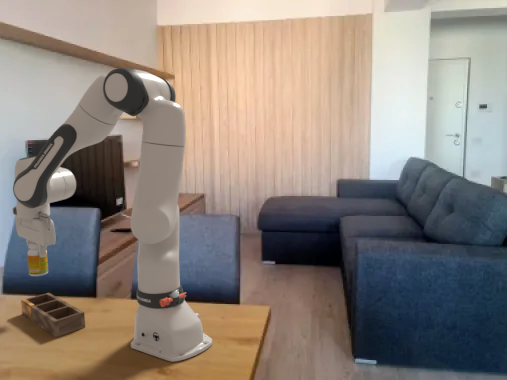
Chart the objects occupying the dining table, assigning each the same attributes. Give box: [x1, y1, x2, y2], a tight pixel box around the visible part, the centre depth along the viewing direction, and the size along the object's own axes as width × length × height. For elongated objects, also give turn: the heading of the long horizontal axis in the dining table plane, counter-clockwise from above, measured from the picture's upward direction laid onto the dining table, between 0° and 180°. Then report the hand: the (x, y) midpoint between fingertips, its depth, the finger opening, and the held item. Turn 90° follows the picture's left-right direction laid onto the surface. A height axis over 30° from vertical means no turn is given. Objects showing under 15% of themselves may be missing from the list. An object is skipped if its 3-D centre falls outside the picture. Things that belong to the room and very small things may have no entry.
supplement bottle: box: [27, 242, 49, 277], centre depth 140 cm, size 5×5×10 cm
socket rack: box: [20, 292, 86, 338], centre depth 137 cm, size 24×9×5 cm, turn 47°
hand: (37, 255), depth 140 cm, fingers closed on supplement bottle, 5 cm apart
